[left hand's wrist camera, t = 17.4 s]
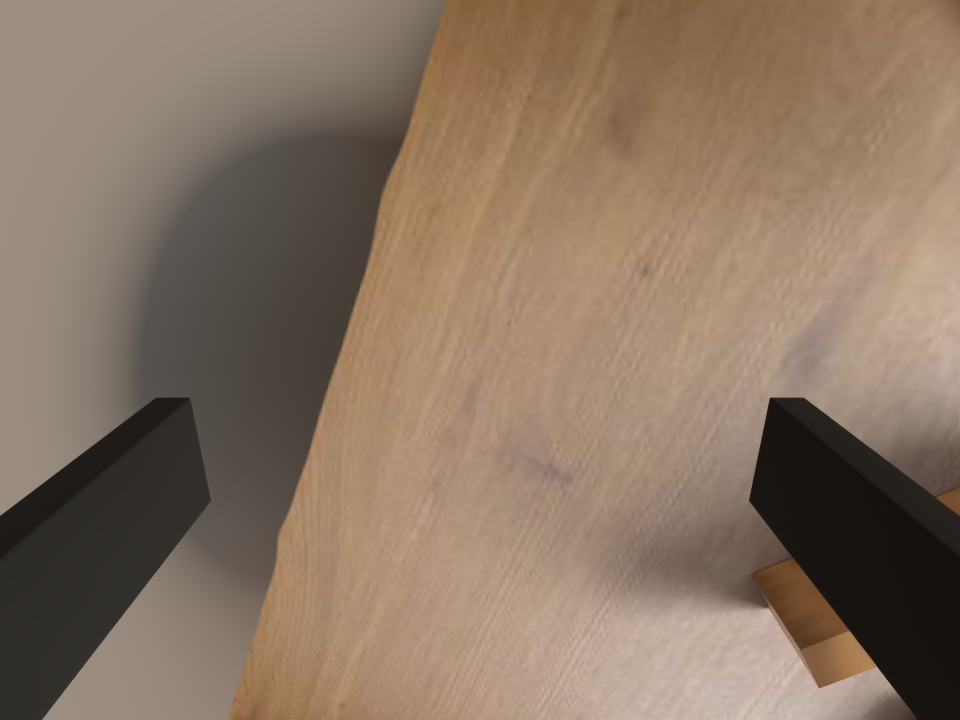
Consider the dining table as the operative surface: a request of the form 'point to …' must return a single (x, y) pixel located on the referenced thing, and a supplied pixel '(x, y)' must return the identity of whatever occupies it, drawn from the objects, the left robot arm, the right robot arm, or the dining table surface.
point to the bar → (818, 618)
